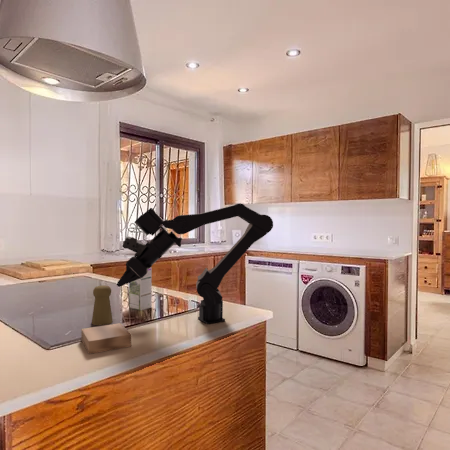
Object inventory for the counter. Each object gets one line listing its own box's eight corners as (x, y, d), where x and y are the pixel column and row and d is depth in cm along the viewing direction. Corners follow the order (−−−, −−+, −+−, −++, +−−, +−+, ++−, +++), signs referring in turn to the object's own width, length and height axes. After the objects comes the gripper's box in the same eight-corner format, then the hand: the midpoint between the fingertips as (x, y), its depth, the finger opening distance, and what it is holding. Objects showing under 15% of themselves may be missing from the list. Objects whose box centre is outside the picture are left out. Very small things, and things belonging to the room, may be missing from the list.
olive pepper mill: (105, 326, 103) (106, 288, 103) (87, 324, 105) (87, 287, 104) (116, 319, 109) (116, 284, 109) (98, 318, 110) (98, 283, 110)
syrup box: (152, 307, 124) (152, 266, 124) (139, 311, 119) (140, 268, 119) (140, 304, 127) (140, 264, 127) (128, 308, 122) (128, 266, 122)
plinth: (120, 334, 97) (120, 323, 97) (131, 346, 88) (131, 334, 88) (81, 340, 92) (81, 328, 92) (88, 353, 83) (88, 341, 83)
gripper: (143, 226, 116) (108, 259, 115) (134, 229, 98) (93, 268, 97) (166, 250, 117) (132, 283, 117) (163, 257, 99) (122, 297, 98)
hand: (120, 282), depth 107 cm, fingers open, 9 cm apart
